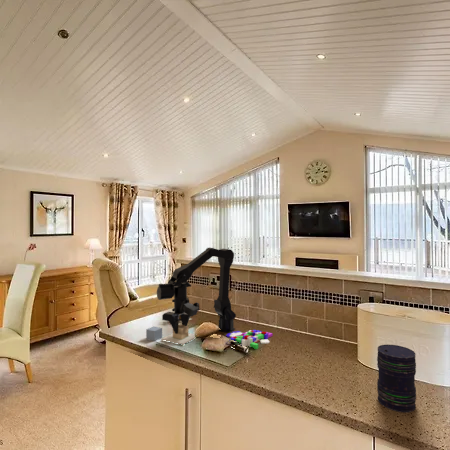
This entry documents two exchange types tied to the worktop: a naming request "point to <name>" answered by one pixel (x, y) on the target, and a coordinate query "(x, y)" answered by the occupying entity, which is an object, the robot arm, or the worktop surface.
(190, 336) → the plate
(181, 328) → the oak block
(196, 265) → the robot arm
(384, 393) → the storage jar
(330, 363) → the worktop surface
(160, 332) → the slate block
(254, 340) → the building block set
